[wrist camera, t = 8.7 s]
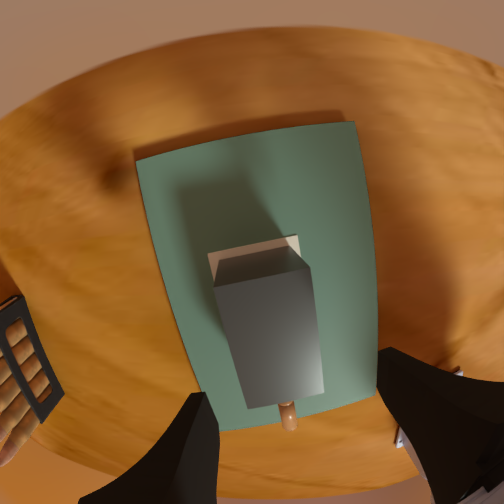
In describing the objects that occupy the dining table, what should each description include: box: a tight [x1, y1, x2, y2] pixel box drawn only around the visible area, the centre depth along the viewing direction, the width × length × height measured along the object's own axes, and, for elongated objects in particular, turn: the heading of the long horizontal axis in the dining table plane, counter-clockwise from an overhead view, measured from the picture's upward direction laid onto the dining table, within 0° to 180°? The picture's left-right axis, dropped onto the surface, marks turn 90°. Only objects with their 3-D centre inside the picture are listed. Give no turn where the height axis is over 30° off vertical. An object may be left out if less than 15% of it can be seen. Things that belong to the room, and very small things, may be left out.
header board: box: [136, 121, 378, 432], centre depth 18 cm, size 22×14×4 cm, turn 11°
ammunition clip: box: [0, 295, 65, 467], centre depth 13 cm, size 11×2×12 cm, turn 7°
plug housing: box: [213, 245, 324, 431], centre depth 16 cm, size 11×4×5 cm, turn 11°
